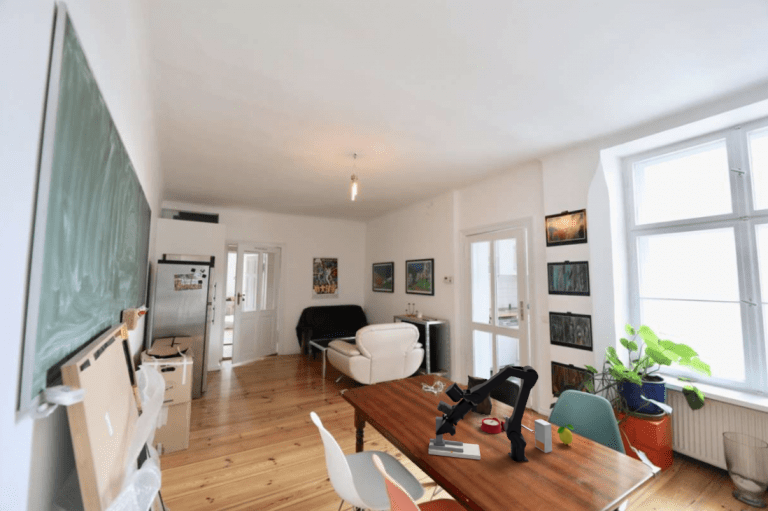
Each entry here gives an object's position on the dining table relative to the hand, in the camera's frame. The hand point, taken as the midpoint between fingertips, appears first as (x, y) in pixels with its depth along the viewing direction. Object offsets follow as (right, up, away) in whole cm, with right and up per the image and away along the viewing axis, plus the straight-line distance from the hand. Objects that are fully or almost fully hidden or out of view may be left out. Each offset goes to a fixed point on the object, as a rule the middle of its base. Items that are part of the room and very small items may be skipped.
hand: (436, 432), depth 150 cm
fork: (+49, -10, +25) cm, 56 cm away
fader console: (+8, -7, -2) cm, 11 cm away
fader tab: (+1, -5, -1) cm, 6 cm away
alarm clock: (+33, -9, +20) cm, 40 cm away
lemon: (+62, -8, +4) cm, 62 cm away
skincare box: (+49, -8, 0) cm, 49 cm away
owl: (+34, -11, +44) cm, 57 cm away
